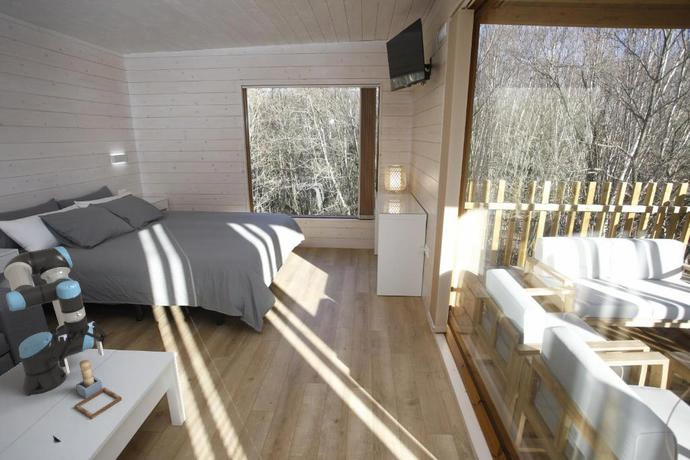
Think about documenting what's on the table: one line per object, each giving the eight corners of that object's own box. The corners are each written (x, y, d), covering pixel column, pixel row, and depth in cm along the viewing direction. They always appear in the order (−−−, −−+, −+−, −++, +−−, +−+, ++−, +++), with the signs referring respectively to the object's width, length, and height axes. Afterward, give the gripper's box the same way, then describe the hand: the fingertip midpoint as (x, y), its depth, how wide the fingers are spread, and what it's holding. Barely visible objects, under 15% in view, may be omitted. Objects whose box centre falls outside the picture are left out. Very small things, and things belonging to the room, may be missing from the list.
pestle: (84, 392, 162) (77, 363, 158) (93, 387, 165) (86, 358, 161) (89, 395, 160) (82, 366, 156) (97, 390, 163) (91, 361, 159)
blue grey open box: (78, 395, 162) (76, 384, 160) (94, 385, 167) (92, 375, 166) (87, 400, 159) (85, 389, 157) (103, 390, 164) (101, 380, 163)
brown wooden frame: (75, 409, 154) (74, 405, 153) (105, 391, 164) (104, 387, 163) (92, 420, 149) (91, 416, 148) (122, 401, 159) (121, 397, 158)
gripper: (44, 335, 140) (56, 383, 146) (111, 307, 161) (119, 350, 167) (34, 330, 143) (46, 377, 149) (100, 303, 164) (109, 345, 170)
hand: (84, 363), depth 158 cm, fingers open, 13 cm apart
